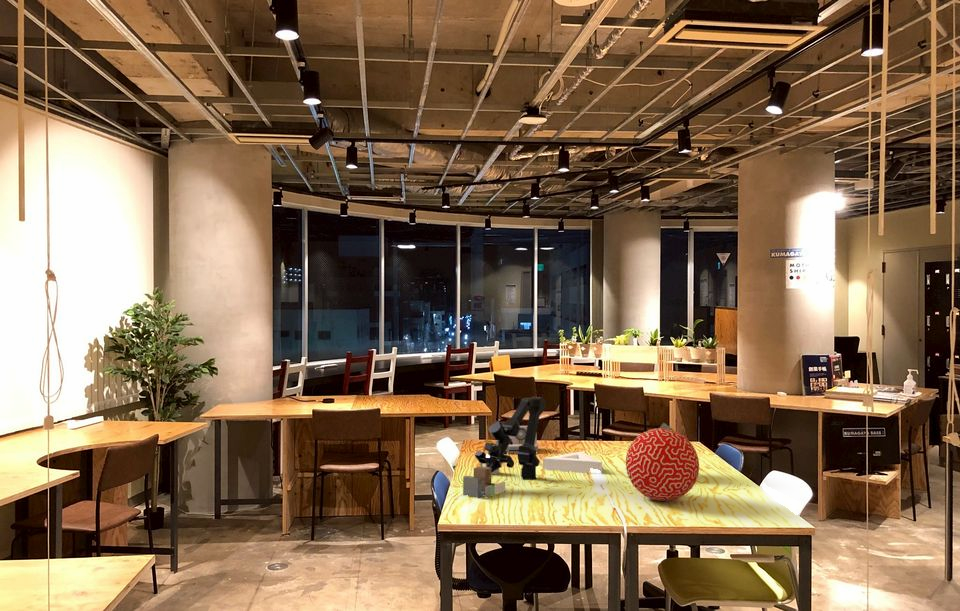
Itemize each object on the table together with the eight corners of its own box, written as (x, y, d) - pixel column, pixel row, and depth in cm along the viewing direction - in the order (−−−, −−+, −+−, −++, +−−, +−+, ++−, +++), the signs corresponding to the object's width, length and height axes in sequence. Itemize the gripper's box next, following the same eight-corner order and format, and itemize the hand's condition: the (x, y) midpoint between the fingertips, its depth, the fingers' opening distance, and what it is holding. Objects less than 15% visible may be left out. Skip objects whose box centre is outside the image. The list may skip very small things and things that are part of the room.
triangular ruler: (542, 470, 362) (542, 458, 362) (554, 461, 387) (554, 449, 387) (601, 475, 353) (601, 462, 353) (609, 465, 377) (609, 453, 377)
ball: (620, 491, 317) (620, 423, 317) (688, 491, 316) (688, 423, 316) (632, 508, 287) (632, 433, 287) (708, 509, 286) (707, 434, 286)
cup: (497, 475, 349) (497, 457, 349) (477, 474, 351) (477, 456, 352) (500, 472, 356) (500, 454, 356) (481, 471, 358) (481, 453, 359)
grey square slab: (466, 493, 311) (466, 475, 311) (481, 496, 306) (481, 478, 306) (463, 495, 309) (463, 476, 309) (477, 497, 304) (477, 479, 304)
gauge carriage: (480, 486, 317) (480, 466, 317) (500, 490, 311) (500, 469, 311) (473, 488, 313) (473, 468, 314) (493, 492, 307) (493, 471, 307)
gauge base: (486, 487, 323) (486, 478, 323) (506, 491, 316) (506, 481, 316) (466, 493, 311) (466, 483, 311) (486, 497, 304) (486, 487, 304)
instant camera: (500, 454, 405) (500, 428, 405) (501, 448, 425) (501, 422, 426) (538, 454, 404) (538, 428, 404) (537, 448, 424) (537, 423, 425)
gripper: (477, 433, 326) (461, 461, 317) (510, 437, 315) (495, 466, 306) (487, 448, 332) (472, 476, 323) (520, 453, 321) (506, 481, 312)
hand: (486, 474), depth 316 cm, fingers closed, pressing on gauge carriage
